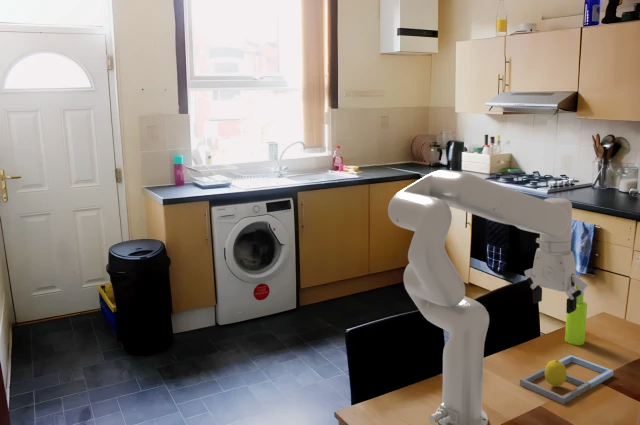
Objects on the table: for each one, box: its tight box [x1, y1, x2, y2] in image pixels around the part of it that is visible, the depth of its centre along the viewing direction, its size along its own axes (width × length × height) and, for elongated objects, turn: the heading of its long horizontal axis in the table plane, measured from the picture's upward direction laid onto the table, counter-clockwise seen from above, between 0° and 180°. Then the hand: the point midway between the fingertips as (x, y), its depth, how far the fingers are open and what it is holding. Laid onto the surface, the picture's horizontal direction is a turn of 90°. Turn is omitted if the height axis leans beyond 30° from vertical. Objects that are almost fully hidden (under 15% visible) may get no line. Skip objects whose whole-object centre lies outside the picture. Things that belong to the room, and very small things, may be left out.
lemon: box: [544, 359, 568, 388], centre depth 152 cm, size 6×6×8 cm
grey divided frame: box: [519, 354, 614, 405], centre depth 156 cm, size 25×13×2 cm, turn 126°
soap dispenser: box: [564, 284, 588, 346], centre depth 179 cm, size 6×7×20 cm
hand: (553, 306), depth 149 cm, fingers open, 9 cm apart
